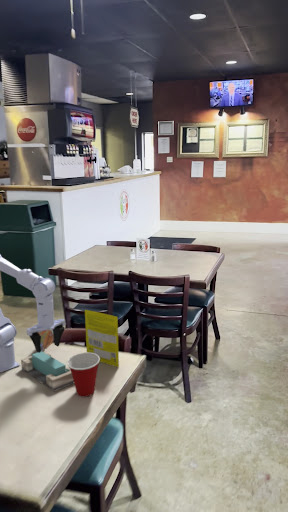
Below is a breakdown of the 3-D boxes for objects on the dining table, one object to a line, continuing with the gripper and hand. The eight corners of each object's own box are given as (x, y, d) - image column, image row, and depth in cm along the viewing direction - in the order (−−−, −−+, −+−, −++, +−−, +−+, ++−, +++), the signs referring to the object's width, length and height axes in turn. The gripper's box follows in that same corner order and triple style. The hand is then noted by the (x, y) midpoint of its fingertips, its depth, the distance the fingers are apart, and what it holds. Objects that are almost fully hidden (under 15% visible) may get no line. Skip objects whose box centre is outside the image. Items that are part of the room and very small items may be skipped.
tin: (40, 354, 175) (39, 334, 173) (33, 353, 176) (32, 334, 174) (55, 339, 190) (54, 321, 188) (48, 339, 190) (47, 320, 188)
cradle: (21, 369, 163) (21, 359, 162) (45, 360, 169) (44, 351, 169) (53, 391, 147) (53, 380, 146) (78, 380, 154) (77, 370, 153)
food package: (119, 366, 164) (118, 316, 159) (117, 368, 163) (116, 317, 158) (87, 357, 172) (85, 309, 167) (86, 358, 171) (83, 310, 167)
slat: (32, 366, 162) (31, 354, 161) (42, 363, 165) (41, 351, 164) (56, 382, 151) (55, 368, 150) (66, 378, 154) (65, 365, 153)
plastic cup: (61, 393, 146) (59, 359, 143) (86, 381, 154) (85, 349, 151) (82, 405, 139) (81, 370, 136) (107, 391, 146) (106, 358, 144)
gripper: (32, 321, 148) (35, 358, 151) (69, 310, 157) (70, 346, 160) (22, 315, 153) (25, 351, 156) (58, 306, 162) (60, 340, 165)
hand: (47, 348), depth 158 cm, fingers open, 7 cm apart
